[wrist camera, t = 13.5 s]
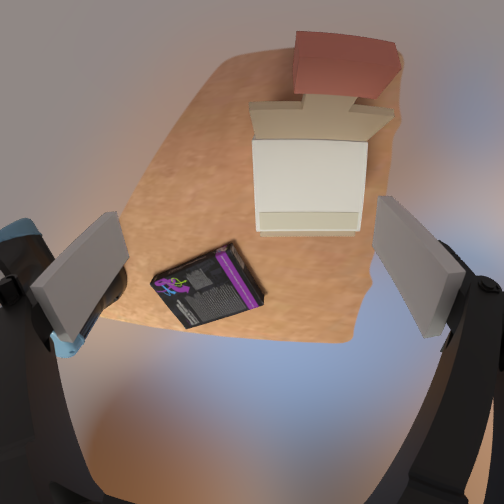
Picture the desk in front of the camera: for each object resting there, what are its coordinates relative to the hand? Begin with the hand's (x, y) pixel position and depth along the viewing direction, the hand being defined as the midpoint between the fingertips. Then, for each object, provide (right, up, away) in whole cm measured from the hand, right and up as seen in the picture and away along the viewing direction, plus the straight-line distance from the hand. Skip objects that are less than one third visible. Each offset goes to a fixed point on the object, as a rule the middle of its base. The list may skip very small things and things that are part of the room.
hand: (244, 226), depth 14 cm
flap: (+7, +10, +8) cm, 14 cm away
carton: (+8, +13, +31) cm, 35 cm away
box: (-9, -8, +45) cm, 47 cm away
